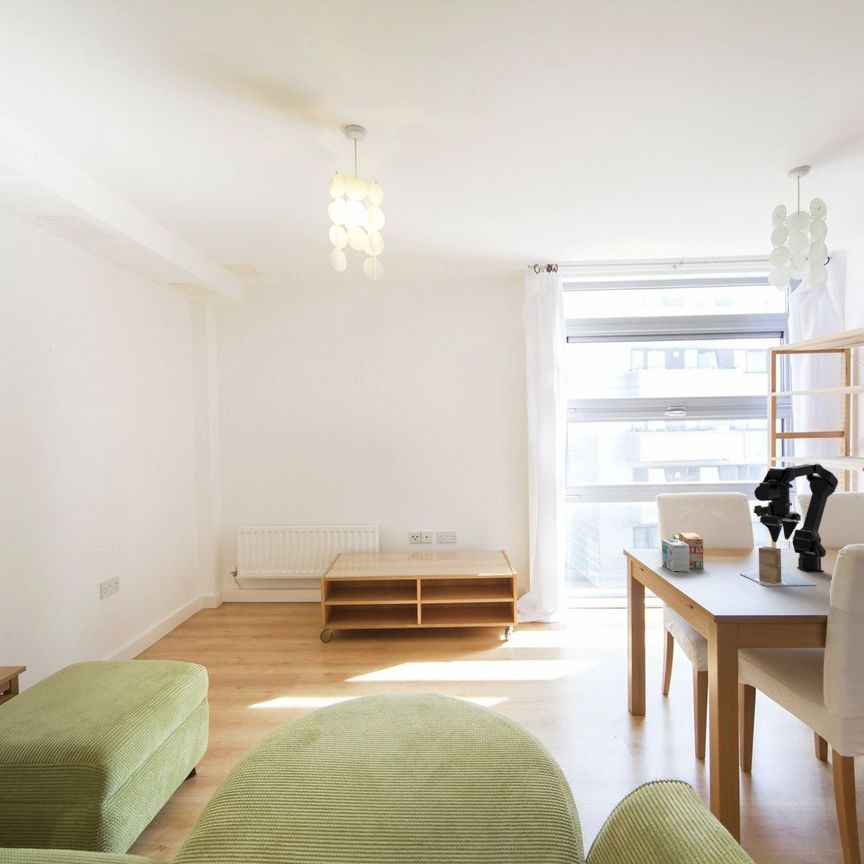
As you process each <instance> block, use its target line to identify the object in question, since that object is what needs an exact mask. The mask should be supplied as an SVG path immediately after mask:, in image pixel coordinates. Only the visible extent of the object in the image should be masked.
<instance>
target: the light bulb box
mask: <svg viewBox="0 0 864 864" xmlns="http://www.w3.org/2000/svg"><path fill="white" fill-rule="evenodd" d="M661 555H662V557H661V559H662V560H661V561H662V564H663V565H664V566H663V565H662V566H663V567H665V566H666V567H667V568H666V567H665V568H666V569H668V568H669V569H670V570H669V569H668V570H669V571H671V570H672V571H671V572H673V571H686V572H687V571H689V572H690V568H689V545H688V544H686V543H684V542H682V541H679V540H677V539H674V538H673V539H662V540H661ZM686 572H685V573H686Z"/></svg>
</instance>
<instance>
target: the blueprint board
mask: <svg viewBox="0 0 864 864" xmlns="http://www.w3.org/2000/svg"><path fill="white" fill-rule="evenodd" d="M739 575H740V576H742V577H744V578H746V579H748V580H750V579H751V581H752V580H753V582H755V583H757V584H759V583H760V584H759V585H761V584H762V585H761V586H763V585H764V587H795V586H794V585H797V586H796V587H801V586H800V585H809V586H808V587H816V586H817V584H815V583H813V582H811V581H808V580H806V579H803V578H801V577H798V576H797V575H793V574H791V573H789V572H781V582H780V583H777V584H770V583H766V582H761V581H759V572H758V573H757V572H755V573H740V574H739ZM788 585H789V586H788Z"/></svg>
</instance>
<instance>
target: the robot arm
mask: <svg viewBox="0 0 864 864" xmlns="http://www.w3.org/2000/svg"><path fill="white" fill-rule="evenodd" d="M799 477H805V478H806V480H807V481H808V482H809V489H810V491H811V493H812V494H811V497H810V500H809V505H808V508H807V512H806V514H805V518H804V521H803V525H802V527H801V528H800V529H796V528H797V526H798V525H799V524H800V521H801V519H802V517H801V514H800V513H798V512H790V510H791V509H790V507H791V506H793V502H790V489H792V488H794V486H793V485H792V484H791V482H794V480H796V478H799ZM838 484H839V480H838V478H837V477H836V475H835V474H833V472H832V471H829V470H828V469H826V468H824V467H823V466H822V465H821V463H815V462H813V463H812V462H807V463H804V464H798V465H795V466H788V467H786V466H785V467H783V466H781V467H780V466H771V467H769V468H768V470H767V472H766V474H765V476H764V478H763V480H762V482H759V486H757V487H756V488H755V490H754V493H753V494H754V497H755V498H756V500H758V501H759V502H766V501H769V502H768V504H767V506H762V505H761V504H759V505H755V506H754V508H753V513H754V514H756V517H759V523H761V524H762V526H765V527H766V528H767V531H768V532H769V534H770V538H771V540H772V542H773V543H777V541H778V539H779V537H780V534H781V531H782V529H783V535H784V537H783V538H784V539H785V540H789V539H790V538H791V536H792V534H793V537H792V542H791V543H792V546H793V547H792V548H793V550H794V553H795V554H798V559H797V560H798V564H797V565H798V566H796V569H797V570H798V569H799V570H801V571H804V572H807V573H825V570H824V569H822V558H824V557H826V555H827V554H826V553H827V550H826V549H825V547H823V545H822V544H821V542H822V539H821V536H820V533H819V529H820V526H821V522H822V519H823V515H824V511H825V508H826V504H827V501H828V498H829V497H830V496H831V495H833V494H834V493H835V492H836V489H837V486H838ZM794 530H795V531H794ZM793 532H794V533H793Z"/></svg>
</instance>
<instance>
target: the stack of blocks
mask: <svg viewBox="0 0 864 864" xmlns="http://www.w3.org/2000/svg"><path fill="white" fill-rule="evenodd" d="M674 539H677V540H679V541H682V542H684V543H686V544H688V545H689V569H704V538H702V536H700V535H699V534H697V533H695V532H678V534H676V535H674V534H673V540H674Z"/></svg>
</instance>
